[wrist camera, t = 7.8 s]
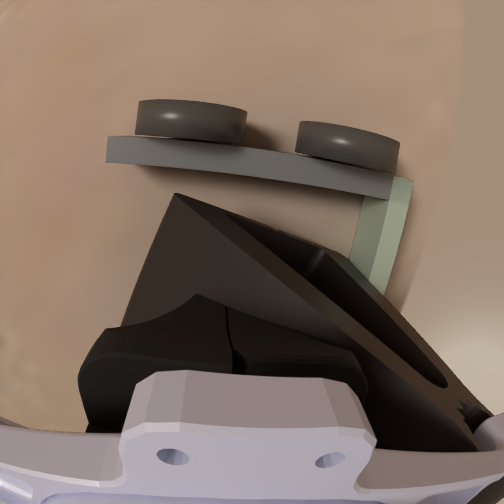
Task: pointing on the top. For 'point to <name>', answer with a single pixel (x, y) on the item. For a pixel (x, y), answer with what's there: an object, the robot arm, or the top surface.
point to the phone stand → (313, 319)
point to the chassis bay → (282, 166)
